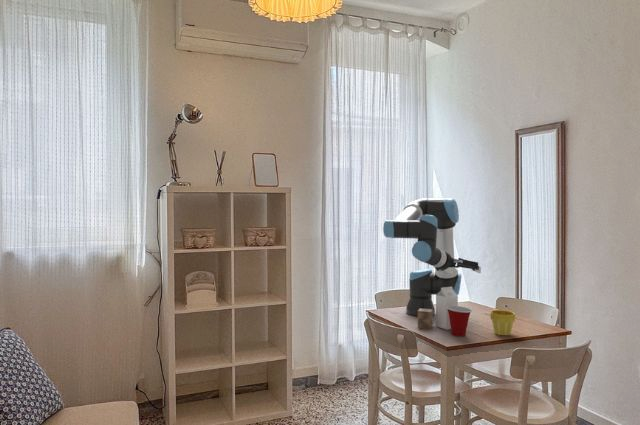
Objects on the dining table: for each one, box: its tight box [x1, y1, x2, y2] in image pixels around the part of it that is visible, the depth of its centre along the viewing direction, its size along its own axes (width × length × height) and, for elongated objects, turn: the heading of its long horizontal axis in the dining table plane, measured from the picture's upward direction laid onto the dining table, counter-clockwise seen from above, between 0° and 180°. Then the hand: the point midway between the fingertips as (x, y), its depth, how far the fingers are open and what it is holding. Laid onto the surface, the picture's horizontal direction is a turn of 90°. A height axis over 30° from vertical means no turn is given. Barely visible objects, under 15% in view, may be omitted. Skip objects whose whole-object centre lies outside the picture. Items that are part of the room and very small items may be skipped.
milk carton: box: [435, 287, 459, 330], centre depth 220 cm, size 7×7×19 cm
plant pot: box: [489, 309, 516, 336], centre depth 209 cm, size 10×10×10 cm
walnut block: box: [417, 308, 434, 330], centre depth 221 cm, size 6×6×8 cm
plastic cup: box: [447, 305, 473, 337], centre depth 208 cm, size 11×11×12 cm
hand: (465, 270), depth 209 cm, fingers open, 13 cm apart
